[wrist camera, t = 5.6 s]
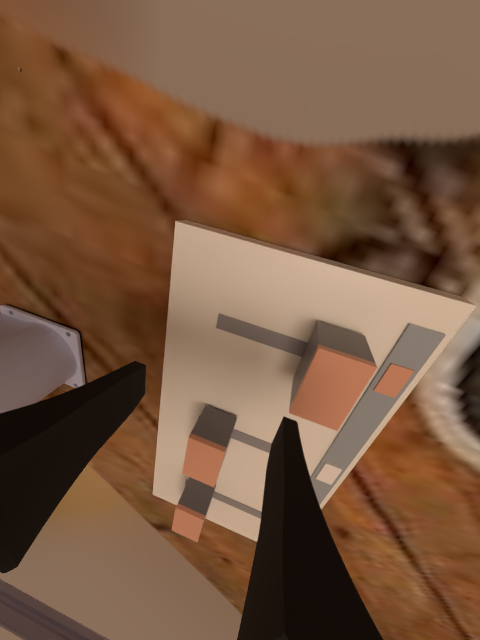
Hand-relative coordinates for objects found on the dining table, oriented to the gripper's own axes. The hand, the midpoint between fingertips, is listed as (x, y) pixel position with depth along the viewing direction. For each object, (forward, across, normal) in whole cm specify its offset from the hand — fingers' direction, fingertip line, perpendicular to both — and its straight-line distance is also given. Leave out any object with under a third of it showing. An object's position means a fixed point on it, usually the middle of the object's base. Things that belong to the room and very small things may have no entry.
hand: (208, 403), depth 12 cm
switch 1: (+7, 0, +21) cm, 22 cm away
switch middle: (+7, 0, +10) cm, 12 cm away
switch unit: (+8, -3, +10) cm, 14 cm away
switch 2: (+7, -6, -1) cm, 9 cm away
